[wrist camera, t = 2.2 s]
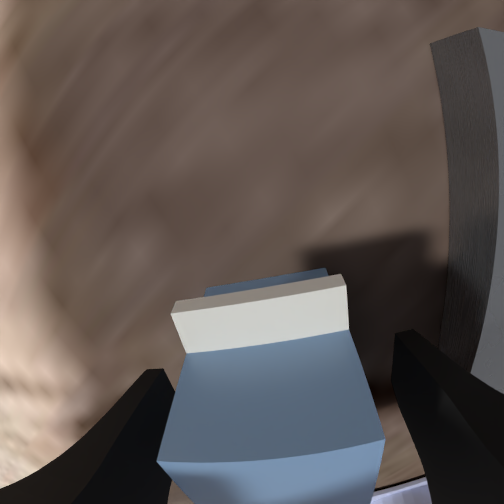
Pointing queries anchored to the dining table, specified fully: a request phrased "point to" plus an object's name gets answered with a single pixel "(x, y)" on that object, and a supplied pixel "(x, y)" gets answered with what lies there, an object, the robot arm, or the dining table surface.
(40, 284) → the dining table surface
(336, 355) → the block
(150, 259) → the dining table surface
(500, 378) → the plate
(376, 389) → the dining table surface
